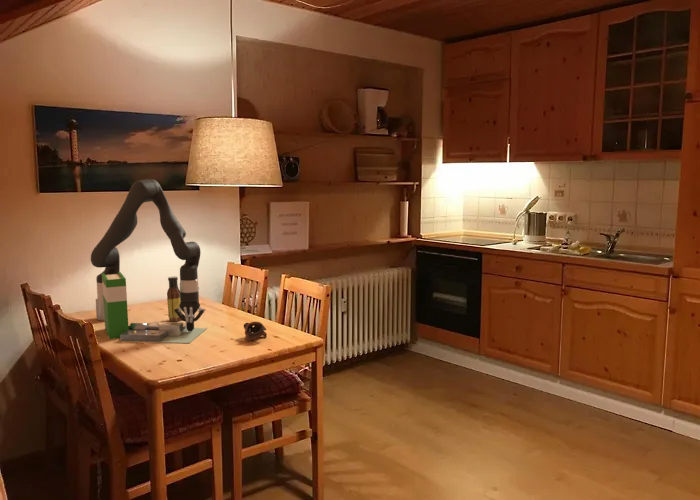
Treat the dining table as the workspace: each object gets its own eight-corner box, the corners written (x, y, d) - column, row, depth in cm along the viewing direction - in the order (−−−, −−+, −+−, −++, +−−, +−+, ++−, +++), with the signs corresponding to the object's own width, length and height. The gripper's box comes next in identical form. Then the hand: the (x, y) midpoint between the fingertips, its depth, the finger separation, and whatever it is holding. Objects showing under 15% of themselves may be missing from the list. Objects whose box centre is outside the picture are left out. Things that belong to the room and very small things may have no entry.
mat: (119, 341, 234) (119, 341, 234) (143, 327, 256) (143, 326, 256) (189, 343, 232) (189, 342, 232) (207, 328, 254) (207, 328, 254)
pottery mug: (273, 339, 240) (270, 324, 235) (257, 353, 235) (253, 339, 230) (252, 327, 247) (249, 313, 242) (236, 341, 241) (232, 326, 236)
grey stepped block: (118, 340, 235) (117, 329, 234) (131, 332, 247) (131, 321, 246) (161, 341, 233) (161, 330, 233) (173, 333, 245) (172, 322, 245)
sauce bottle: (185, 318, 271) (183, 275, 269) (179, 322, 265) (178, 278, 262) (171, 318, 272) (169, 275, 269) (165, 321, 266) (164, 278, 263)
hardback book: (105, 328, 253) (101, 273, 250) (123, 326, 257) (120, 272, 253) (109, 339, 238) (105, 280, 234) (129, 336, 241) (125, 278, 238)
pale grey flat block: (141, 335, 242) (140, 324, 241) (153, 327, 254) (153, 317, 253) (179, 336, 241) (179, 325, 240) (189, 328, 253) (189, 318, 252)
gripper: (170, 291, 242) (171, 332, 244) (201, 292, 241) (203, 333, 243) (176, 288, 250) (178, 328, 252) (207, 288, 249) (208, 328, 251)
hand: (190, 330), depth 248 cm, fingers closed
